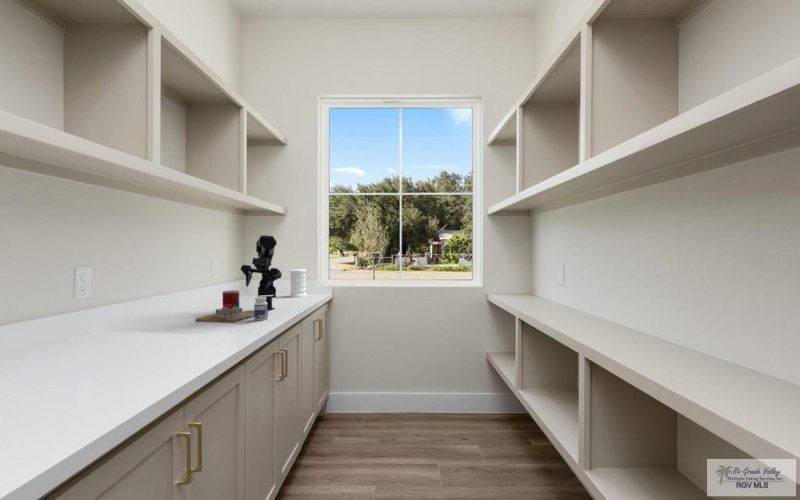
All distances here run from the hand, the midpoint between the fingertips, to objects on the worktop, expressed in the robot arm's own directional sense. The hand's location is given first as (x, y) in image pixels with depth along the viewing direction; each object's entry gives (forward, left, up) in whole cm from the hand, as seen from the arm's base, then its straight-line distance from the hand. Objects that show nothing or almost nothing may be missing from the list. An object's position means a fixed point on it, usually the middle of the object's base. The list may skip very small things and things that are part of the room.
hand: (256, 287), depth 199 cm
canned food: (-9, -20, -14) cm, 26 cm away
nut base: (+7, -10, -14) cm, 18 cm away
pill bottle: (+8, +7, -14) cm, 18 cm away
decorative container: (-85, -21, -14) cm, 88 cm away
